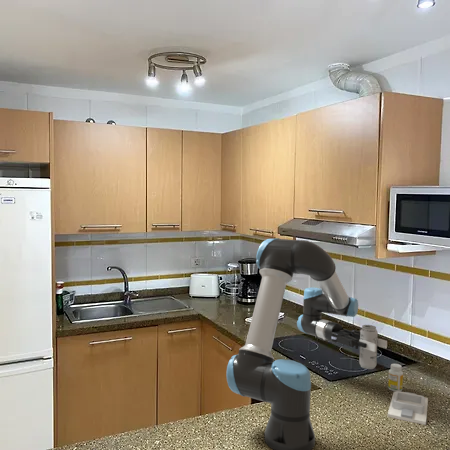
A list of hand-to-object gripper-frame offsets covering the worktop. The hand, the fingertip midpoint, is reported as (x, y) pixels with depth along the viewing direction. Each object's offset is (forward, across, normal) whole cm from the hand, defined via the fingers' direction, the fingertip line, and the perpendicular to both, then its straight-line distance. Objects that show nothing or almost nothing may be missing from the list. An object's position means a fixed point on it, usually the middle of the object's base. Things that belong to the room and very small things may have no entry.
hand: (380, 346), depth 158 cm
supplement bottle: (-5, -19, -22) cm, 29 cm away
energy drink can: (-5, 0, -9) cm, 11 cm away
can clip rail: (+7, -8, -22) cm, 24 cm away
